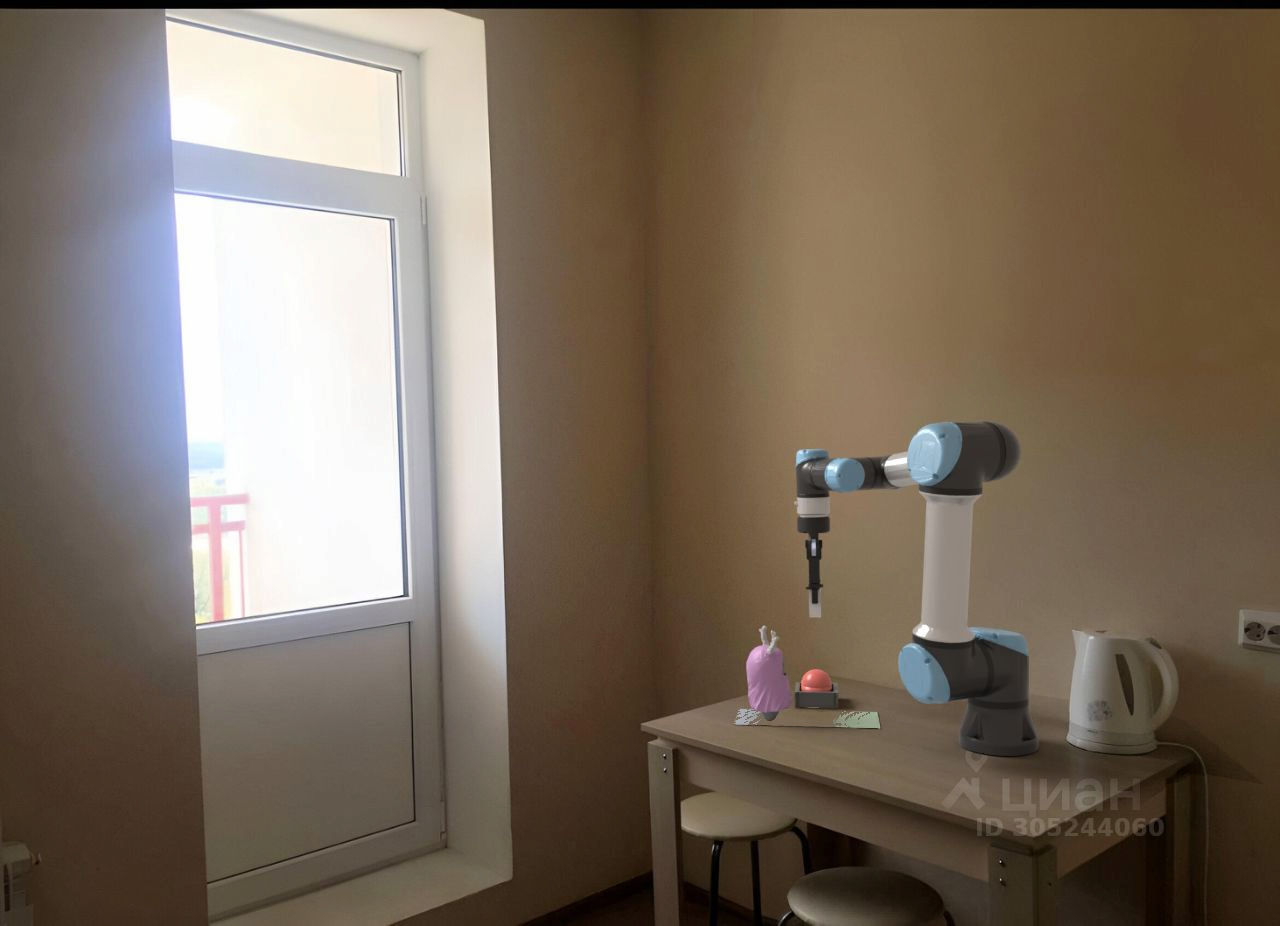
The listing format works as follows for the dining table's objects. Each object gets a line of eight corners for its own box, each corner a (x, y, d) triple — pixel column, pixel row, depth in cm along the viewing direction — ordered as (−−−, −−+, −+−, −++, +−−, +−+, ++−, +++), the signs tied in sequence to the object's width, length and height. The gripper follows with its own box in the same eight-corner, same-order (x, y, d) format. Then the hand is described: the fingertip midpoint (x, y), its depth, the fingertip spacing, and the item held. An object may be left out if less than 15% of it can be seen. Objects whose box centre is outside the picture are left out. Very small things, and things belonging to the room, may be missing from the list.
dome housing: (838, 709, 241) (838, 692, 241) (794, 708, 242) (794, 692, 242) (837, 698, 250) (837, 682, 250) (796, 697, 252) (795, 682, 252)
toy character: (797, 724, 228) (795, 632, 228) (749, 725, 228) (747, 633, 228) (790, 709, 240) (788, 622, 240) (745, 710, 241) (743, 623, 240)
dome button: (832, 703, 242) (831, 673, 242) (801, 702, 244) (800, 672, 243) (831, 696, 249) (831, 666, 249) (801, 695, 250) (801, 666, 250)
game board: (880, 729, 224) (880, 728, 224) (734, 725, 229) (734, 724, 229) (877, 712, 237) (877, 712, 237) (739, 709, 242) (739, 708, 242)
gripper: (797, 513, 253) (799, 611, 253) (796, 518, 239) (798, 621, 239) (829, 513, 252) (831, 611, 252) (829, 517, 238) (831, 622, 238)
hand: (815, 616), depth 246 cm, fingers closed
